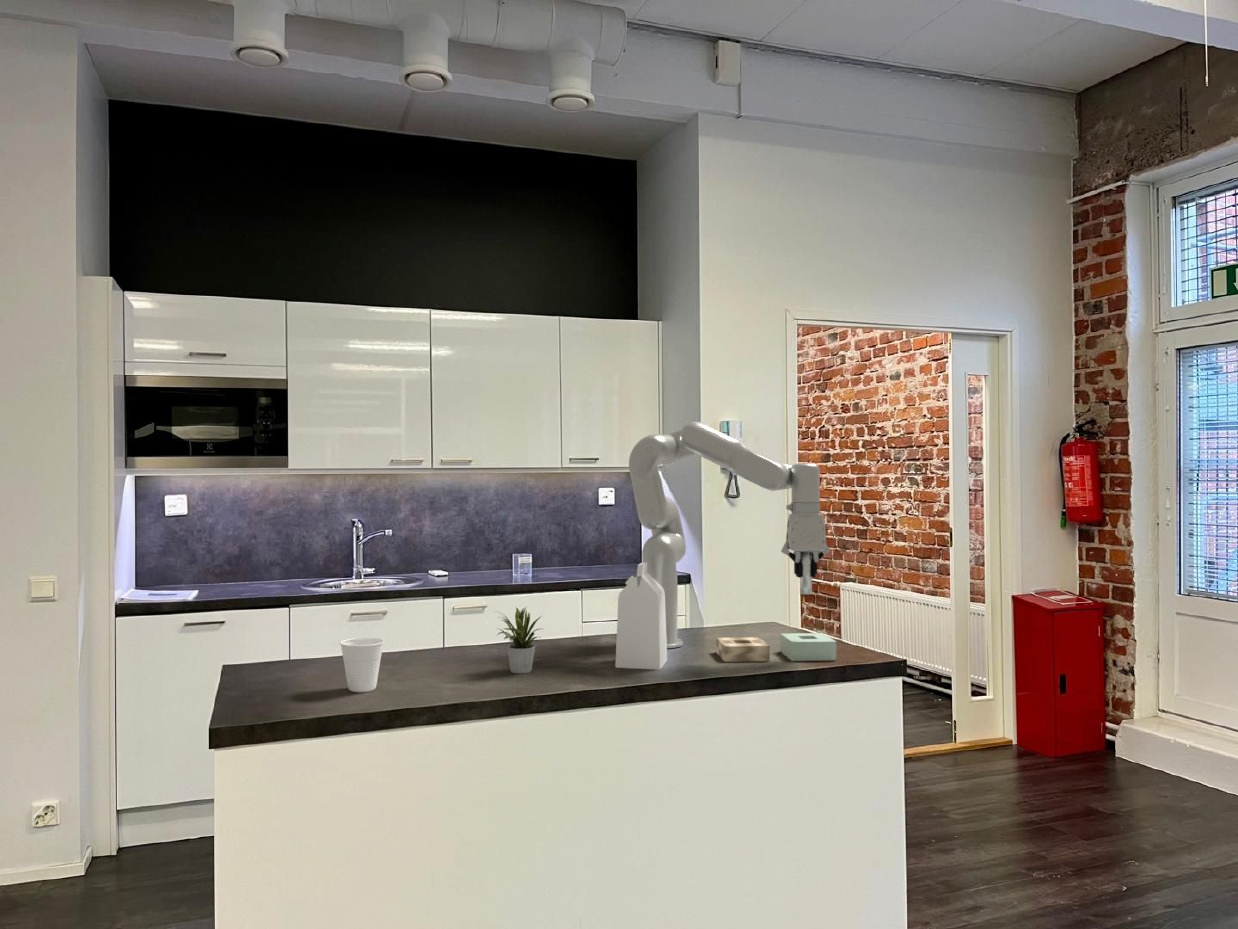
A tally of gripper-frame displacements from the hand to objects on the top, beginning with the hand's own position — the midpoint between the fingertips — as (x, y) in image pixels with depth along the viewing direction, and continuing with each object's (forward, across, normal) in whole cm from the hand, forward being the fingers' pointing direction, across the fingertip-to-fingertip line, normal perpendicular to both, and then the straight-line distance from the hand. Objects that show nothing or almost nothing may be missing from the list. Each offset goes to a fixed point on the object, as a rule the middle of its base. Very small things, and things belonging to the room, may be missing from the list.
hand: (805, 576), depth 260 cm
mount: (+22, -17, 0) cm, 28 cm away
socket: (+22, +1, 0) cm, 22 cm away
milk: (+22, -45, -7) cm, 51 cm away
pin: (+5, 0, 0) cm, 5 cm away
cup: (+21, -112, -32) cm, 118 cm away
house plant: (+21, -77, -13) cm, 81 cm away
